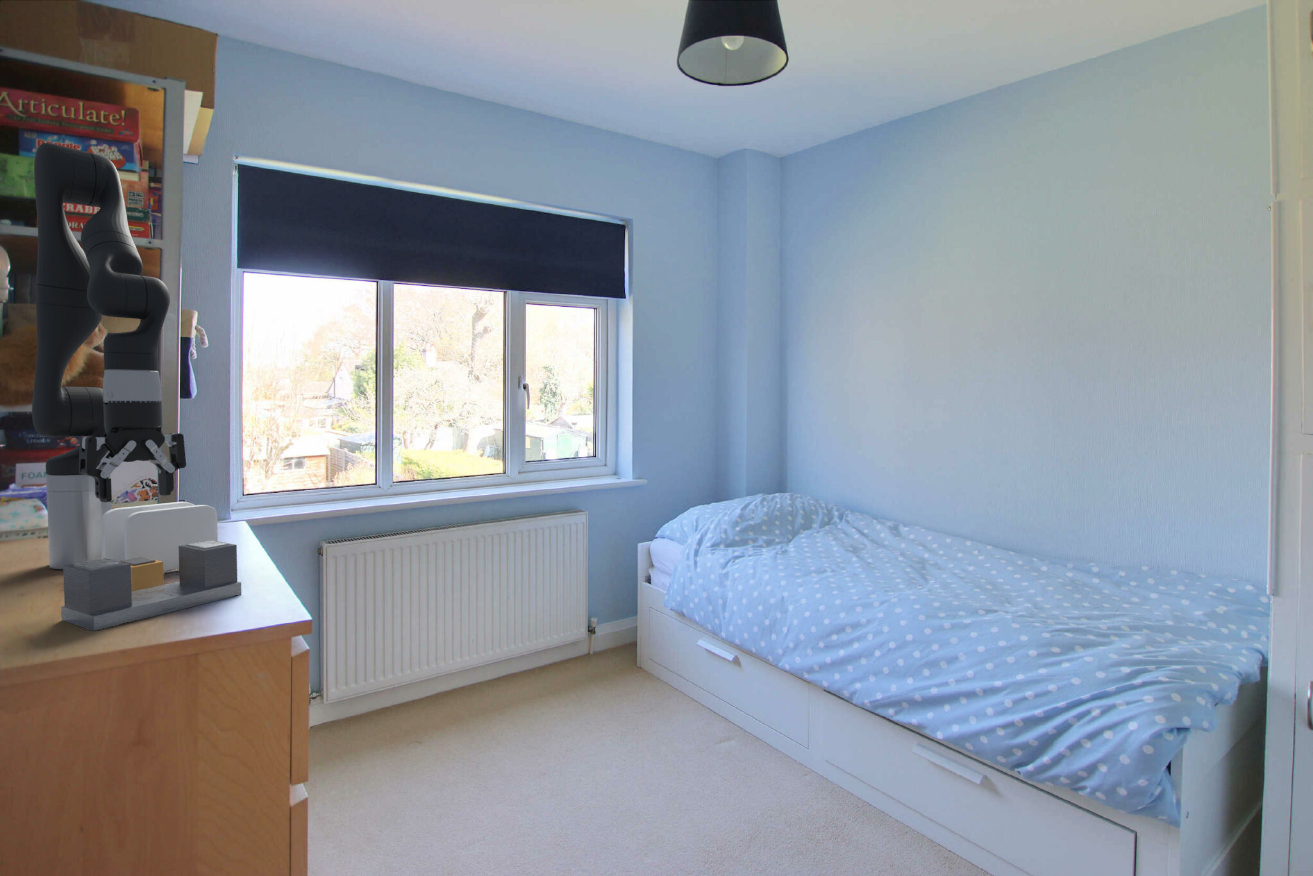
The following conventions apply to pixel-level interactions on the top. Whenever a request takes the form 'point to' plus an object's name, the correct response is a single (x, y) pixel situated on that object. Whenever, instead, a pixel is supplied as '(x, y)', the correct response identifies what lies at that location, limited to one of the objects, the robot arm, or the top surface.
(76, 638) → the top surface
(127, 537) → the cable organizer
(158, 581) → the orange module
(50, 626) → the top surface
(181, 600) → the rail plate
